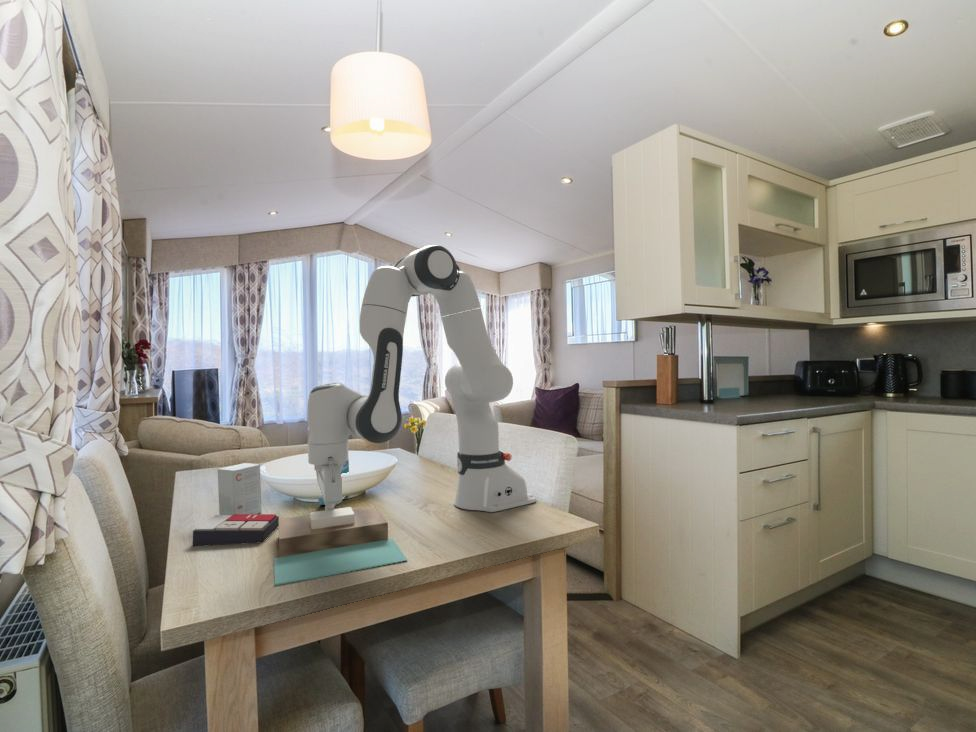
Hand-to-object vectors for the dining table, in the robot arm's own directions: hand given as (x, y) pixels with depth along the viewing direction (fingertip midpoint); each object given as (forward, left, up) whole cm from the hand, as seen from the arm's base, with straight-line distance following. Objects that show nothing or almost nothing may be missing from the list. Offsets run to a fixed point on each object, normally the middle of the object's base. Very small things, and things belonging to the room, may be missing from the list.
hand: (329, 513), depth 114 cm
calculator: (+20, -9, -5) cm, 22 cm away
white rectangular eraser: (0, +4, 0) cm, 5 cm away
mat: (0, +17, -5) cm, 18 cm away
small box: (+20, -25, -5) cm, 33 cm away
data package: (-4, -28, -5) cm, 29 cm away
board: (0, +4, -5) cm, 6 cm away
